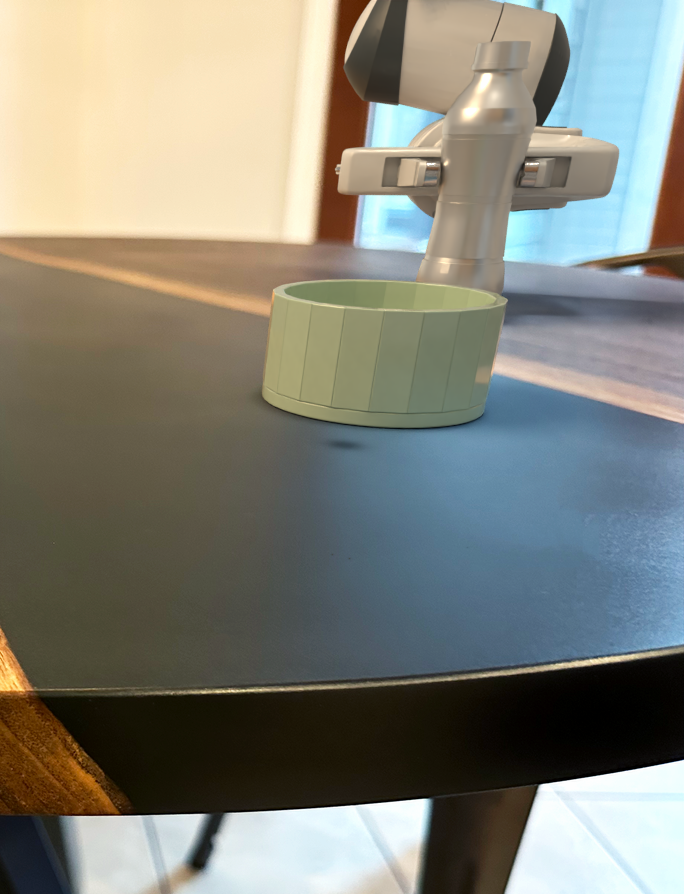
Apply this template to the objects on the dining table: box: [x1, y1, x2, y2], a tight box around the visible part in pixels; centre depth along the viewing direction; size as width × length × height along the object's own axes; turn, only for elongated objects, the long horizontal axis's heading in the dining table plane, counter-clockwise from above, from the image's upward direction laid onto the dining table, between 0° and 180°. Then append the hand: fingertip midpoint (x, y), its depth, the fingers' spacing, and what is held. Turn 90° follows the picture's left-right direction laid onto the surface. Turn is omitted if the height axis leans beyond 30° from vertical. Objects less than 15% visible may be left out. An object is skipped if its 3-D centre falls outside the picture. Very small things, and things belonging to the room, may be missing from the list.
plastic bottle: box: [414, 41, 537, 296], centre depth 78 cm, size 6×7×20 cm
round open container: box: [261, 278, 509, 429], centre depth 57 cm, size 12×12×6 cm
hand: (480, 174), depth 77 cm, fingers closed on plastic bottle, 6 cm apart
